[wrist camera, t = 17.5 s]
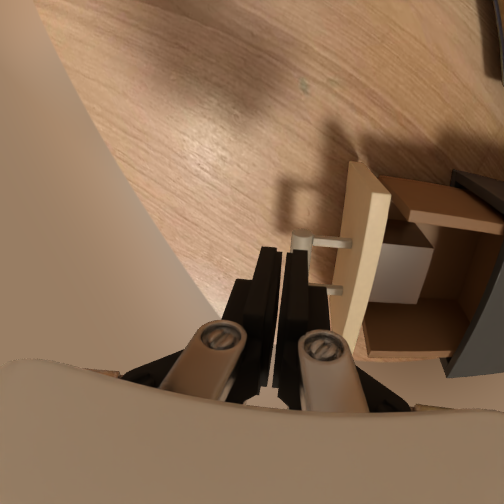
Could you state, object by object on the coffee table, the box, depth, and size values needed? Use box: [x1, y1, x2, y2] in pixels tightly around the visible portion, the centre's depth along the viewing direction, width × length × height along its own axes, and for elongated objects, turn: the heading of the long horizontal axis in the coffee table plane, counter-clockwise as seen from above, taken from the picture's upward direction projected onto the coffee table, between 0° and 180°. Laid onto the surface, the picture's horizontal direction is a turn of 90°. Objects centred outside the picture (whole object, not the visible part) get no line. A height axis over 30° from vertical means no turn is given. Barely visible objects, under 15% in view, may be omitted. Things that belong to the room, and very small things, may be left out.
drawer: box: [290, 161, 504, 358], centre depth 22 cm, size 19×14×9 cm
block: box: [368, 219, 434, 304], centre depth 23 cm, size 5×5×5 cm
